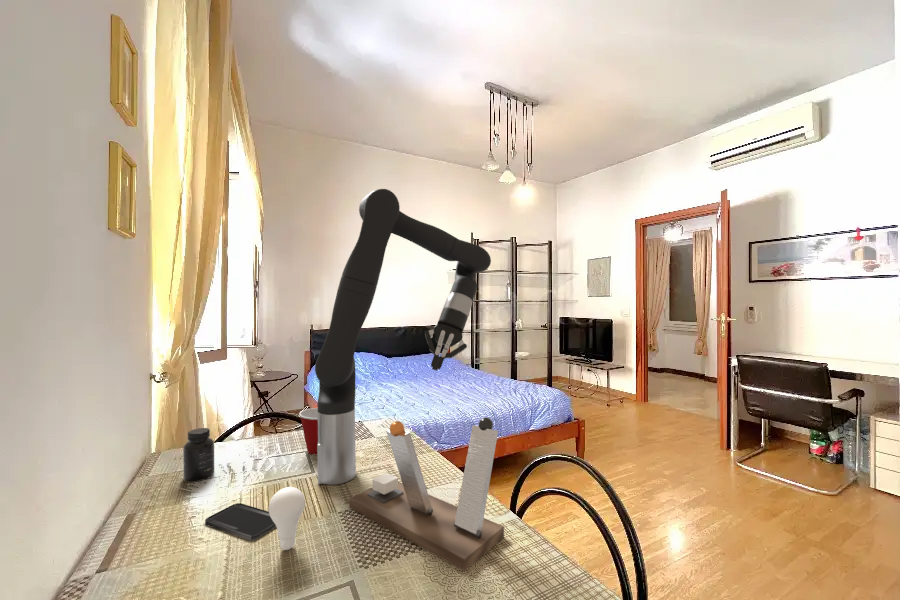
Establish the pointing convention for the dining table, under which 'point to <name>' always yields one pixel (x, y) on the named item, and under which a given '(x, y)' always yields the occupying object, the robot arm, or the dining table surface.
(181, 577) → the dining table surface
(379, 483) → the white button
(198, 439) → the supplement bottle
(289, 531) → the lightbulb
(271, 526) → the phone
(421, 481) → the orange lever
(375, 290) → the robot arm
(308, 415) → the plastic cup
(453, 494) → the dining table surface
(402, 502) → the walnut panel
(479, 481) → the grey upright post
